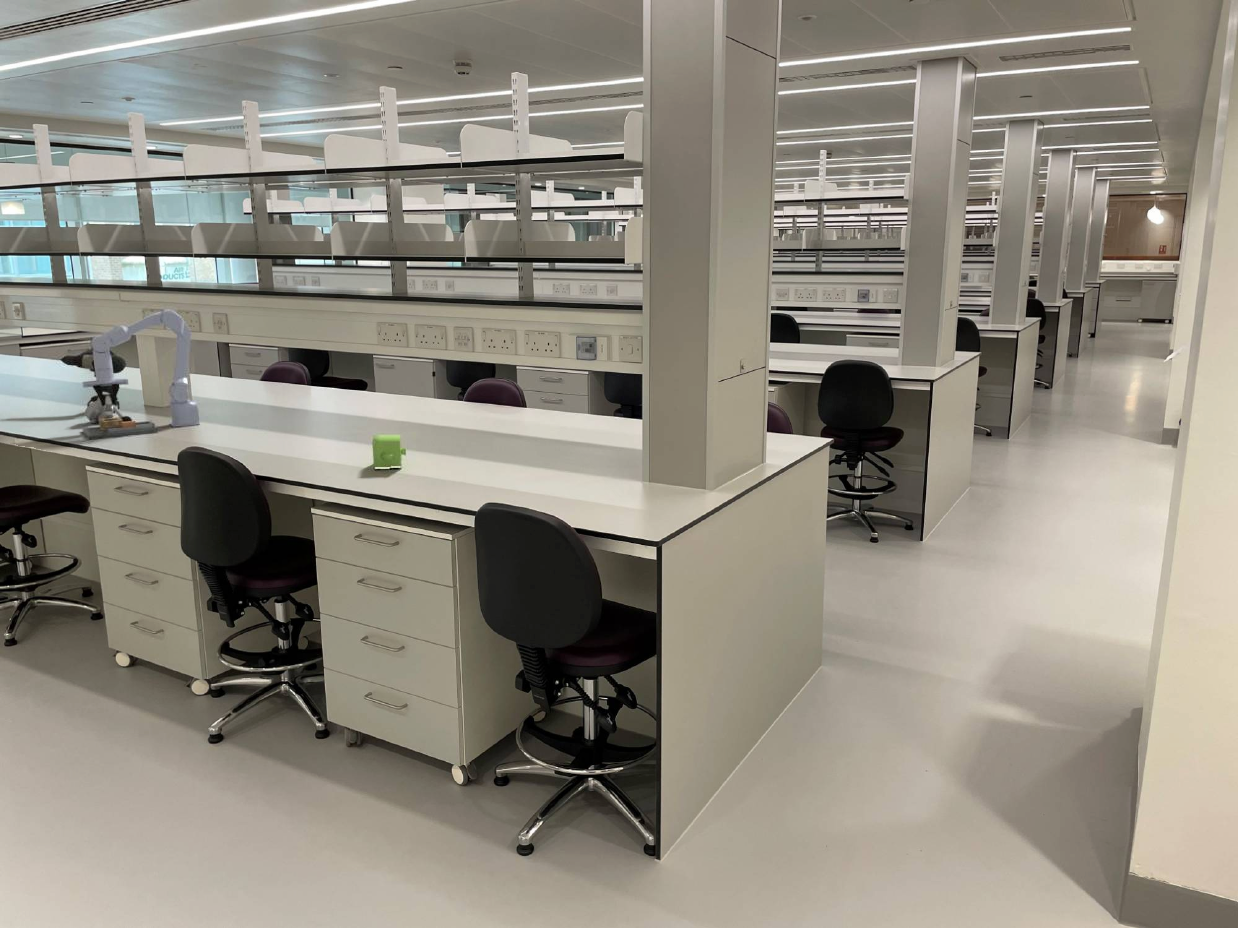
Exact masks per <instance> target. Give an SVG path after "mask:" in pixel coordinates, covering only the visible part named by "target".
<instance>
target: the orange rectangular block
mask: <svg viewBox="0 0 1238 928" xmlns="http://www.w3.org/2000/svg"><path fill="white" fill-rule="evenodd" d="M136 422H137V421H135V420H132V421H128V422H122V428H123V427H133V426H135V425H136Z"/></svg>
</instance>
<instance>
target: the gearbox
mask: <svg viewBox="0 0 1238 928" xmlns="http://www.w3.org/2000/svg"><path fill="white" fill-rule="evenodd" d="M401 436H402V435H400V434H378V435H377V434H376V435H374V436H373V439H372V458H373V459H372V460H373V468H374V467H391V466H401V467H402V464H401V461H402V462H403V458H402V455H403V456H406V455H407V448H406V447H402V438H401Z"/></svg>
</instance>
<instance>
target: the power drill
mask: <svg viewBox="0 0 1238 928" xmlns="http://www.w3.org/2000/svg"><path fill="white" fill-rule="evenodd" d="M110 356H111V359H112V367H113V374H119V373H121V372H123V371H124V369H125V368H126V366H127V361H126V360H125V359H124V358H123V357H122V356H121V357H120V356H118V355H111V354H110ZM93 357H94V355H93V354H77V355H66V356H63V357H61V358H60V361H61V362H62V363H63V364H64V365H67V366H72V367H73V366H74V367H75V366H76V367H77V368H80V369H85V370H89V371H90V372H91V373H92V372H93V374H94V375H93V376H94V378H96V373H95V366H94V359H93ZM110 384H112V383H110ZM100 385H102V384H100ZM110 386H111V385H110ZM110 386H101V387H102V392H107V393H109V394H112V393H111V387H110ZM97 400H98V395H97V394H96V395H93V396H91V397H90V400H89V401H88V402H87V405H86V406H87V407H88V406H89V403H90V402H95V401H97ZM129 403H130V402H129ZM130 404H131V403H130ZM115 406H116V407H117V409H118V410H119V411H120V407H121V406H120V401H119V399H118V396H116V405H115ZM87 407H86V408H87ZM115 413H116V412H115V411H114V412H113V414H115Z"/></svg>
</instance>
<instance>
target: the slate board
mask: <svg viewBox="0 0 1238 928" xmlns="http://www.w3.org/2000/svg"><path fill="white" fill-rule="evenodd" d="M135 422H136V425H135V426H133V427H123V428H122V426H113V427H107V430H102V429H101V428H100V427H99V426H94V427H84V428H82V432H83V434H84V435H85V437H87V439H88V440H89V441H91V440H99V439H108V438H109V439H110V438H118V437H119V438H120V437H128V436H137V435H148V434H157V433H158V430H157V428H156V427H155V426H156V425H155V422H153V421H152V420H148V421H147V420H145V421H139V422H138V421H135Z"/></svg>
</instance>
